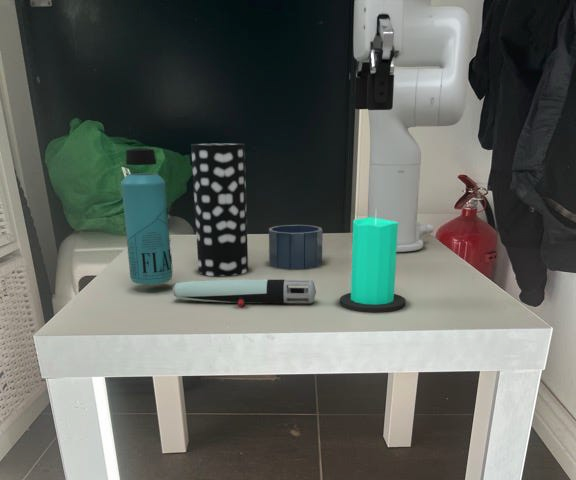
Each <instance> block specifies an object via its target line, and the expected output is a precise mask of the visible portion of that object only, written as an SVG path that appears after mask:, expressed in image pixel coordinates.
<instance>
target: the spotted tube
mask: <svg viewBox="0 0 576 480" xmlns="http://www.w3.org/2000/svg"><path fill="white" fill-rule="evenodd" d="M245 146H246V145H245V143H237V142H233V143H232V142H231V143H230V142H228V143H227V142H221V143H220V142H219V143H218V142H216V143H215V142H213V143H210V142H209V143H191V144H190V148H191V166H192V168H191V169H192V183H193V197H194V199H193V200H194V217H195V231H196V232H195V235H196V251H197V267H198V269H197V270H198V273H199V274H201V275H204V276H209V277H232V276H233V277H234V276H239V275H244V274H246V273H248V272H249V252H248V251H249V250H248V217H247V216H248V215H247V214H248V213H247V183H246V182H247V181H246V151H245V149H246V147H245Z"/></svg>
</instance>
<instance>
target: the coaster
mask: <svg viewBox="0 0 576 480" xmlns="http://www.w3.org/2000/svg"><path fill="white" fill-rule="evenodd" d="M406 302H407V301H406V298H405V297H403V296H402V295H400V294H397V293H394V300H393V302H390V303H387V304H378V305H373V304H362V303H357V302H354V301H353V300H351V292H348V293H345V294H343V295H341V296H340V298H339V304H340V305H341V306H342V307H343V308H345V309H348V310H351V311H357V312H364V313H387V312H394V311H399V310H400V309H403V308H404V307H405V306H406V305H407V304H406Z"/></svg>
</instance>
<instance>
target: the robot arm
mask: <svg viewBox="0 0 576 480" xmlns="http://www.w3.org/2000/svg"><path fill="white" fill-rule="evenodd" d="M431 4H432V0H354V4H353V33H352V34H353V35H352V36H353V37H352V38H353V39H352V40H353V41H352V42H353V47H352V48H353V58H354V59H355V60H356V68H355V77H354V101H353V103H354V104H353V107H354V109H355V110H367V111H368V120H369V122H368V123H369V170H368V171H369V172H368V193H367V195H368V196H367V197H368V198H367V218H368V217H374V218H375V213H376V209H377V215H376V218H379V219H384V220H389V221H394V222H398V233H397V250H396V253H409V252H414V251H419V250H421V249H423V248H424V241H423V240H422V239H420V237H421V236H422V235H429V234H432V233H433V232H434V225H433V224H432V223H424V224H421V222H418V208H419V207H418V206H419V191H420V179H421V178H420V177H421V164H422V152H421V148H420V146H419V144H418V142H417V141H416V139H415V138H414V137H413V135H412V134H411V133H410V132H409V128H416V127H450V126H454V125H457V124H458V123H459V122H460V121H461V120H462V118H463V116H464V112H465V108H466V102H467V94H468V93H467V92H468V91H467V89H468V81H469V80H468V79H469V69H470V68H469V67H470V55H471V43H472V42H471V41H472V39H471V38H472V25H471V18H470V15H469V13H468V12H467V10H466V9H465V8H463V7H461V6H455V5H442V6H441V5H440V6H432V5H431ZM395 67H396V68H395ZM397 67H398V68H397ZM424 67H425V68H424ZM426 67H429V68H426ZM433 67H435V68H433ZM436 67H439V68H436Z"/></svg>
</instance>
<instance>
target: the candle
mask: <svg viewBox="0 0 576 480" xmlns="http://www.w3.org/2000/svg"><path fill="white" fill-rule="evenodd" d="M376 215H377V209H376V213H375V218H374V217H368V216H367V217H364V218H355V219H353V221H352V243H351V244H352V246H351V274H350V275H351V276H350V277H351V279H350V293H351V300H353V301H354V302H357V303H362V304H373V305H378V304H387V303H390V302H393V300H394V294H395V285H396V284H395V283H396V282H395V281H396V265H397V252H396V250H397V233H398V222H394V221H389V220H384V219H379V218H376Z"/></svg>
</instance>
